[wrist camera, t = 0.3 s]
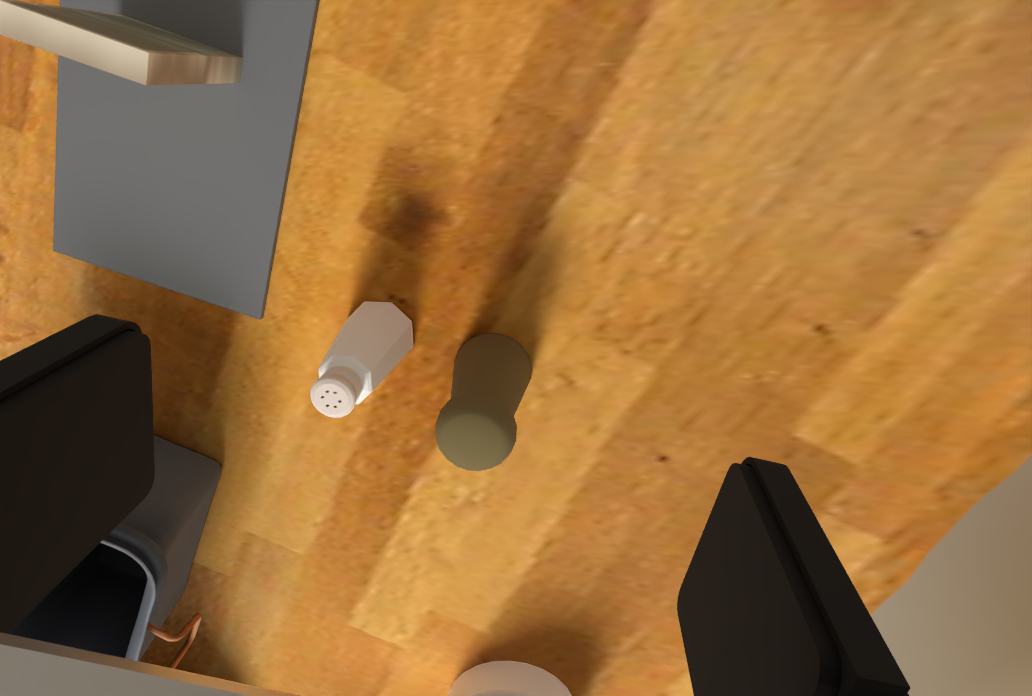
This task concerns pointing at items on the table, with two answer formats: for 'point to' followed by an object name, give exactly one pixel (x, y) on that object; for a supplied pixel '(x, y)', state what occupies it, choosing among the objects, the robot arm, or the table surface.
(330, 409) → the salt shaker
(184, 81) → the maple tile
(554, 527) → the table surface
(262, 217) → the rubber mat
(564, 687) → the honey pot
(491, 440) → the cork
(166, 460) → the storage bin
